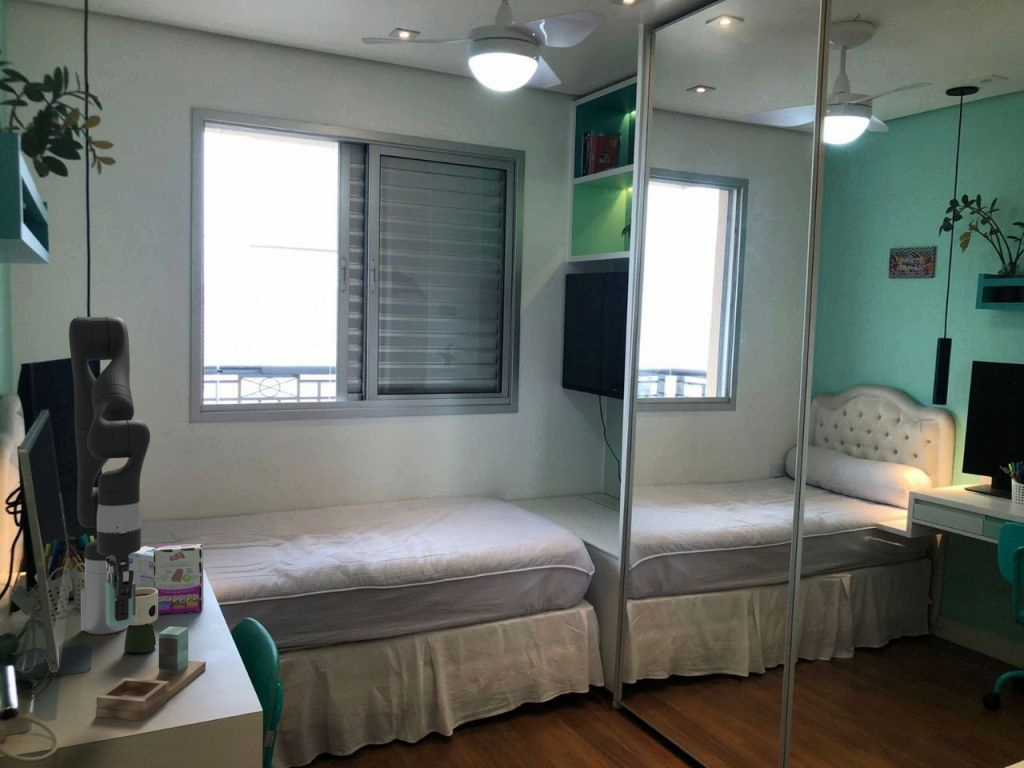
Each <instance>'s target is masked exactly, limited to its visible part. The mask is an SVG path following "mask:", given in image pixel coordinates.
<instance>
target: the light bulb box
mask: <svg viewBox="0 0 1024 768" xmlns="http://www.w3.org/2000/svg"><path fill="white" fill-rule="evenodd" d="M155 549H156V547H152V546H151V547H150V546H146V545H145V546H141V549H140V550H139V551H137V552H134V553H131V554H129V559H130V562H131V561H132V564H133V572H134V575H133V581H134V583H135V584H136V588H154V550H155Z"/></svg>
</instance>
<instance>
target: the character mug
mask: <svg viewBox="0 0 1024 768" xmlns="http://www.w3.org/2000/svg"><path fill="white" fill-rule="evenodd" d="M158 618H159V615H158V590H157V589H155V588H136V615H134V616H133V624H129V626H128V627H127V628H126V633H125V638H124V639H125V640H124V648H123V649H124V650H123V651H125V652H127V653H137V654H141V653H148V652H151V651H152V650H155V649H156V646H157V644H156V643H157V642H156V633H155V628H154V625H153V622H156V621H157V620H158Z"/></svg>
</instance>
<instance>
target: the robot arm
mask: <svg viewBox="0 0 1024 768" xmlns="http://www.w3.org/2000/svg"><path fill="white" fill-rule="evenodd" d="M127 327H128V326H127V324H126V322H125V320H124V319H122V318H121V317H118V316H80V317H74V318H73V319H72V320H71V321H70V322H69V328H68V330H69V331H68V338H69V339H68V342H69V350H70V351H69V352H70V353H69V354H70V359H71V360H70V361H71V368H72V379H73V386H74V387H73V390H74V391H73V393H74V435H75V447H76V459H77V492H76V493H77V497H76V498H77V500H76V501H77V502H76V512H77V513H76V514H77V520H78V522H79V524H80V526H81V527H83V528H89V529H91V528H92V529H96V539H95V540H92V541H90V542H88V543H87V544H86V545H85V547H84V588H82V589H81V590H80V631H84V632H86V633H87V634H90V635H91V634H92V635H107V634H109V635H110V634H113V633H118V632H121V631H124V630H125V629H126V630H127V628H128V626H129V625H123V626H117V627H111V628H109V626H108V624H107V623H106V580H111V587H112V588H113V589H114V600H115V619H116V621H122V620H127V619H128V617H129V603H128V600H129V599H131V598H132V586H133V575H134V572H133V564H132V561H131V562H130V559H129V554H131V553H134V552H137V551H139V550H140V549H141V547H142V510H141V501H140V500H141V499H140V497H141V496H140V494H141V493H140V492H141V491H140V489H141V488H140V485H141V483H140V482H141V475H142V474H141V473H142V469H143V466H144V465H143V464H144V461H145V458H146V455H147V452H148V449H149V445H150V443H151V432H150V429H149V427H148V425H147V424H146V423H145V422H144V421H142V420H139V419H134V416H135V407H134V402H133V397H132V391H131V384H130V376H131V375H130V373H131V371H130V370H131V369H130V368H131V367H130V366H131V363H130V362H131V361H130V339H129V331H128V328H127ZM90 361H110V362H109V363H108V365H106V367H105V368H104V369H103V370H102V371H101V373H100V374H99V375H98V376H97V377H95V375H94V373H93V372H92V370H91V367H90V365H89V362H90ZM126 458H127V461H126V462H125V464H124V465H123V466H121V467H119V468H116V469H111V470H107V471H105V472H102V473H101V474H100V475H99V473H100V472H101V470H102V469H103V467H104V466H105V464H107V462H108V461H109V460H110V459H126ZM98 475H99V477H98ZM97 477H98V481H97V483H98V484H97V486H96V487H94V485H95V481H96V479H97ZM115 582H117V584H116V583H115ZM125 589H126V593H121V590H125Z"/></svg>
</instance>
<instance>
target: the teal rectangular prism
mask: <svg viewBox="0 0 1024 768" xmlns="http://www.w3.org/2000/svg"><path fill="white" fill-rule="evenodd" d="M115 583H116V584H117V582H115ZM121 593H126V589H125V590H121ZM128 603H129V617H128V619H127V620H122V621H116V619H115V600H114V589H113V588H112V587H111V580H106V623H107V624H108V626H109V628H111V627H117V626H123V625H129V624H133V616H134V615H136V584H135V583H134V581H133V586H132V598H131V599H129V600H128Z"/></svg>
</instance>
